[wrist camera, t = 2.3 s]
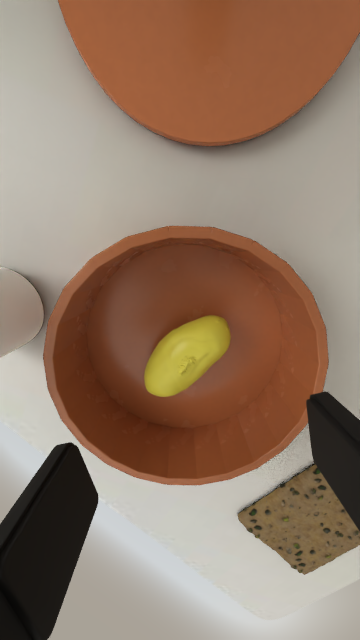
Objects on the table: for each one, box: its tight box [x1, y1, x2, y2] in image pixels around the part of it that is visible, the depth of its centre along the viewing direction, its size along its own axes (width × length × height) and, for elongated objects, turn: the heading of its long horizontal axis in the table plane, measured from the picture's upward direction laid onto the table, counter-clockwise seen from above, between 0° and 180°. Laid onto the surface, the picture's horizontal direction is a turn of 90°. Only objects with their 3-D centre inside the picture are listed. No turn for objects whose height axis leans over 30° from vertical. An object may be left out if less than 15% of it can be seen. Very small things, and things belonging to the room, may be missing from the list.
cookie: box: [238, 464, 360, 575], centre depth 23 cm, size 12×12×1 cm
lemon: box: [144, 315, 231, 397], centre depth 17 cm, size 4×8×4 cm, turn 129°
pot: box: [43, 226, 329, 485], centre depth 16 cm, size 17×17×5 cm
